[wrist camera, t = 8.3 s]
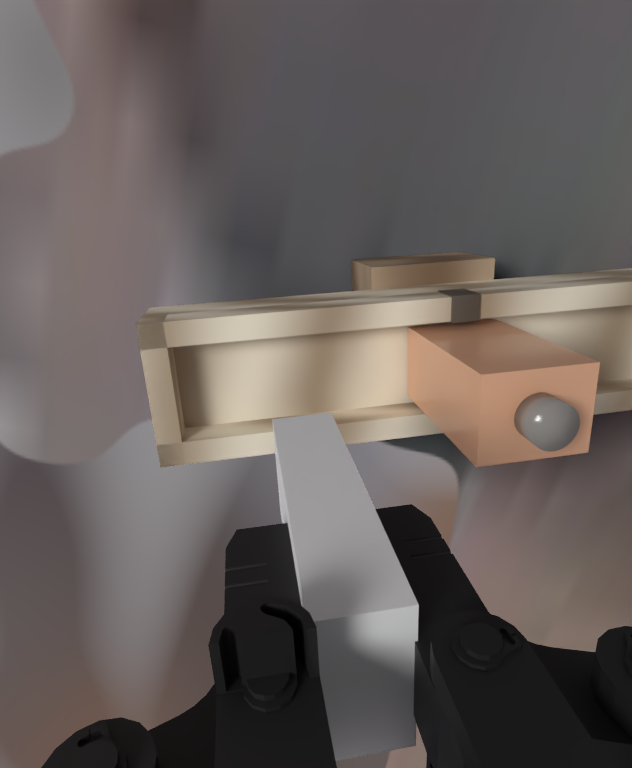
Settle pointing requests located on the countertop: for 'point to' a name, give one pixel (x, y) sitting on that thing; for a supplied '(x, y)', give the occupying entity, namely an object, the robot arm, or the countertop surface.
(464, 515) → the countertop surface
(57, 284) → the countertop surface
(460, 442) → the block
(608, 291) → the beam
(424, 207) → the countertop surface
